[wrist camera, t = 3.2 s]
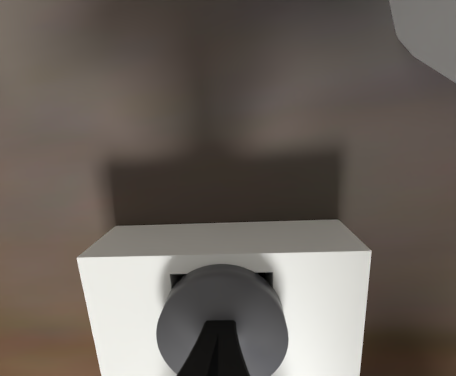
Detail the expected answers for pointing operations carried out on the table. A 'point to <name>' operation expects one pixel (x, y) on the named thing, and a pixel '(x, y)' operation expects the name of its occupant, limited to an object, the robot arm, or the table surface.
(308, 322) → the housing
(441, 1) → the alarm clock
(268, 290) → the knob outer
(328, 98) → the table surface
